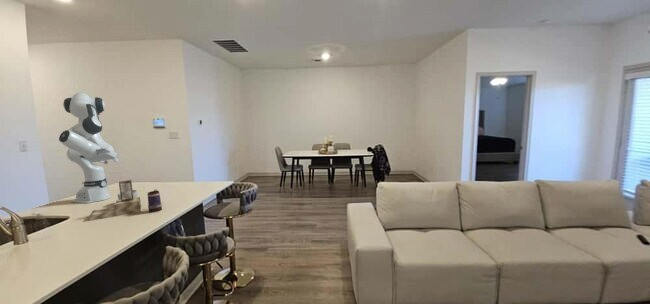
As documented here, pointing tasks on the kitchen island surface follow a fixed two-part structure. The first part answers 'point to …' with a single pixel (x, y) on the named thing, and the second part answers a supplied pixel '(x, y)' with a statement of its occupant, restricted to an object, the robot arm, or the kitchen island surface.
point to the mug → (154, 201)
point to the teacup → (133, 194)
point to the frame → (126, 190)
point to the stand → (118, 209)
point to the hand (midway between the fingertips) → (112, 162)
